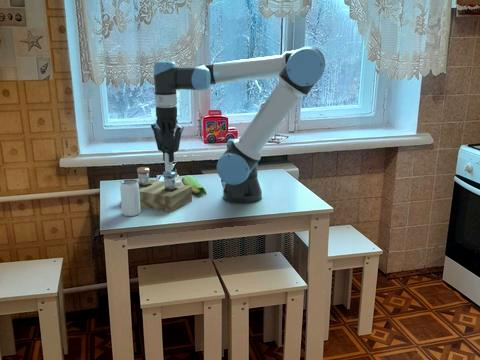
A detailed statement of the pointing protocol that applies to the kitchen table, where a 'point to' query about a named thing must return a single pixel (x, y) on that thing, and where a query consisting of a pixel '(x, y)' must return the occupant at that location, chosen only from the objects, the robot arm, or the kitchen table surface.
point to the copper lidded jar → (143, 176)
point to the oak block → (164, 196)
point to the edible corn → (194, 185)
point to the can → (130, 197)
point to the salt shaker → (169, 180)
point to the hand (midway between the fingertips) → (169, 170)
